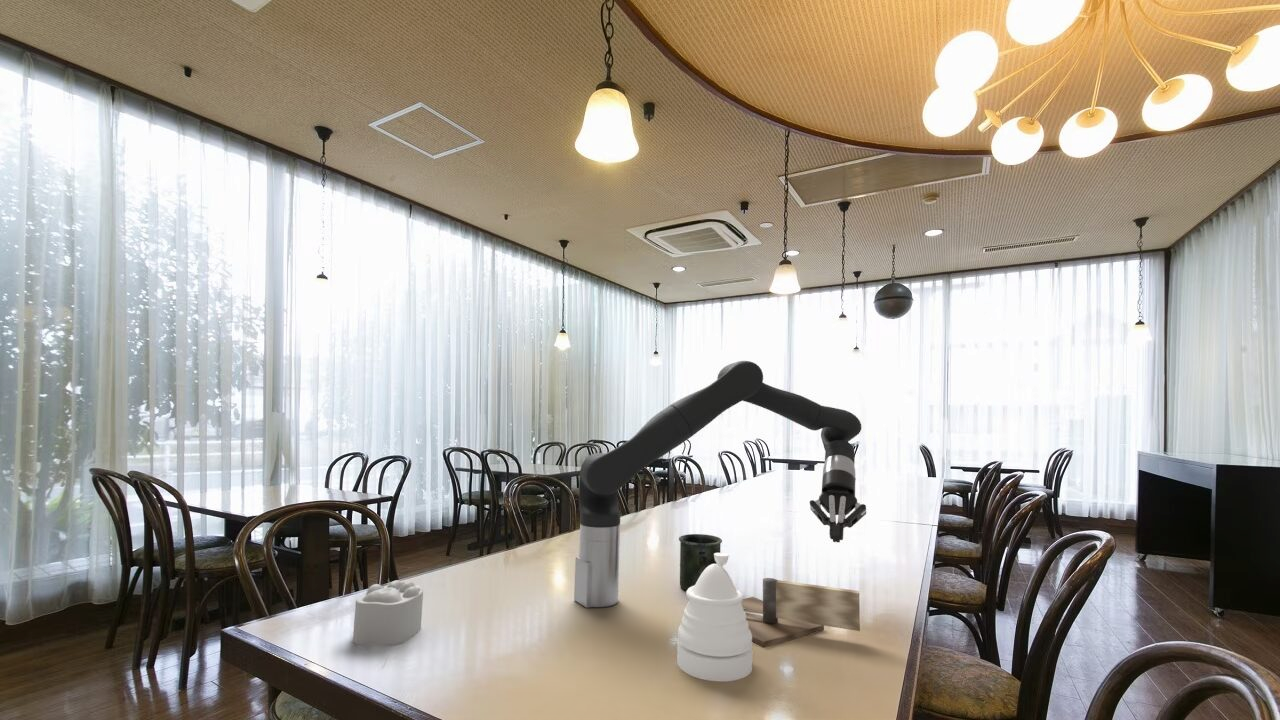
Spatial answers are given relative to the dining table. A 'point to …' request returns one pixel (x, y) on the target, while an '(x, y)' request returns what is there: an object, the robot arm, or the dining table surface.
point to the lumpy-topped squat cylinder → (388, 614)
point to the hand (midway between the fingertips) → (836, 540)
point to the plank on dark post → (809, 604)
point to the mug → (696, 556)
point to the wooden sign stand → (774, 626)
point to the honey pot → (715, 628)
